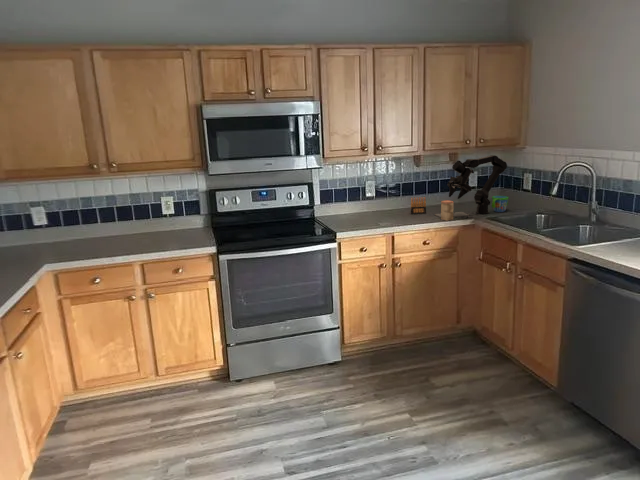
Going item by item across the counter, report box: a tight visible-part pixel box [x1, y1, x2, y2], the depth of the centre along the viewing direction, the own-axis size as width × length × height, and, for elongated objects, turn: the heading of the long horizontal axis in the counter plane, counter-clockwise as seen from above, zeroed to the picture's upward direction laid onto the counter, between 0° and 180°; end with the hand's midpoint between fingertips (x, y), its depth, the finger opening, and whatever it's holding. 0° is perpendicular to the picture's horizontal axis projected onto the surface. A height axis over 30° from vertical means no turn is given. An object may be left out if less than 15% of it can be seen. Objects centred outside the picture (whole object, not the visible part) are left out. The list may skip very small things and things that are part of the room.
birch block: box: [440, 199, 455, 222], centre depth 333 cm, size 6×6×12 cm
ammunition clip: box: [410, 196, 427, 215], centre depth 355 cm, size 11×2×12 cm, turn 88°
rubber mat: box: [434, 211, 470, 219], centre depth 345 cm, size 20×11×1 cm, turn 101°
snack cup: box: [491, 195, 509, 213], centre depth 352 cm, size 16×10×10 cm
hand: (453, 197), depth 336 cm, fingers open, 9 cm apart
